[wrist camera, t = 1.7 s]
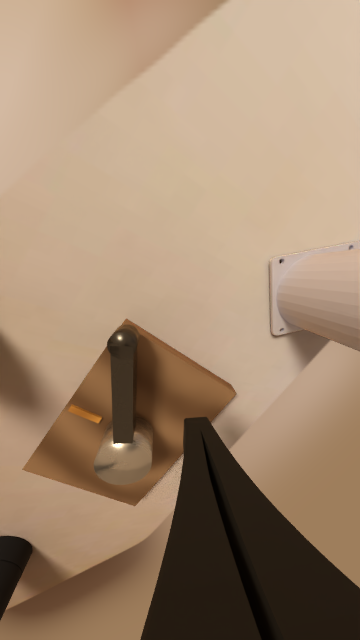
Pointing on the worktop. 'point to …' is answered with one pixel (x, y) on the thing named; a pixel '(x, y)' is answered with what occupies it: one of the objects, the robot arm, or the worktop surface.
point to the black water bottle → (11, 566)
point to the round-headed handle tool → (124, 417)
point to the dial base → (151, 404)
